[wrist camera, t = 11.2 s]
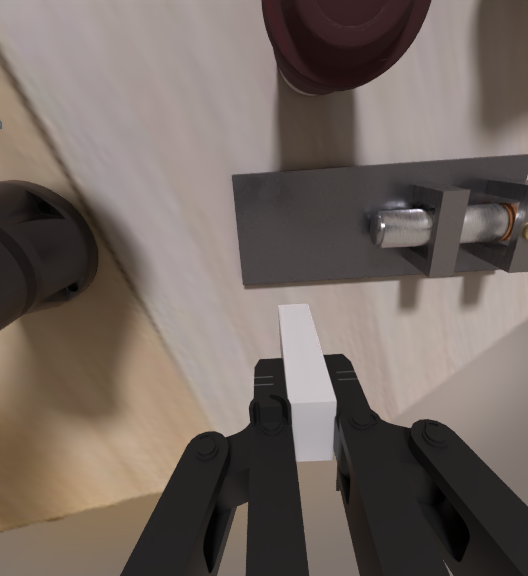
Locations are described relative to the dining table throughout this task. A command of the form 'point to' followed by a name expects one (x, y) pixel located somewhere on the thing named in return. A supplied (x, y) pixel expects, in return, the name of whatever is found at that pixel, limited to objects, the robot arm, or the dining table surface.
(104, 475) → the dining table surface
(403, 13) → the coffee cup
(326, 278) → the grey holder stand
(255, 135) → the dining table surface
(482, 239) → the tube
